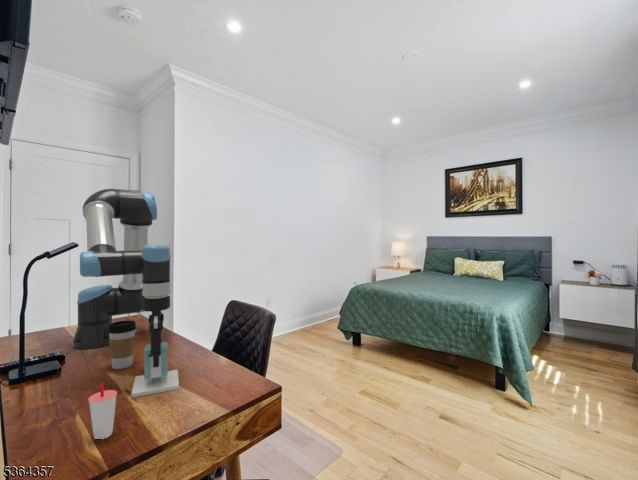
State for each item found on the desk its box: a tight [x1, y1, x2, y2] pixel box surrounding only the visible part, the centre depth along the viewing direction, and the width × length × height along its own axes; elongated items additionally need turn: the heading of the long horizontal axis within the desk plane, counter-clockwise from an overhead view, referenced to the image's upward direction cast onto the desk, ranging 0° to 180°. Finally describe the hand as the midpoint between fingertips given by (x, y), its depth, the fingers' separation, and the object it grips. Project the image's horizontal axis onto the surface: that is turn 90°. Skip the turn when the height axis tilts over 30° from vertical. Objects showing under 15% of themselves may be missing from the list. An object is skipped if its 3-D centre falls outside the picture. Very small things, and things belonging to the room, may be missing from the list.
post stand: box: [131, 368, 180, 399], centre depth 94 cm, size 12×12×8 cm
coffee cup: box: [108, 320, 137, 370], centre depth 108 cm, size 8×8×15 cm
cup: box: [87, 382, 118, 440], centre depth 70 cm, size 5×5×12 cm
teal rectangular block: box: [143, 341, 168, 379], centre depth 94 cm, size 6×6×8 cm
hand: (156, 372), depth 94 cm, fingers closed on teal rectangular block, 6 cm apart
